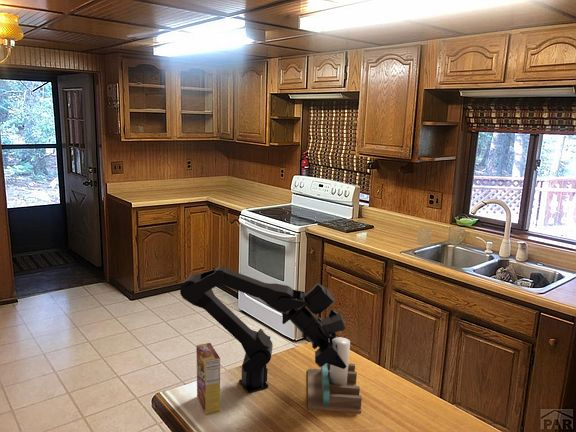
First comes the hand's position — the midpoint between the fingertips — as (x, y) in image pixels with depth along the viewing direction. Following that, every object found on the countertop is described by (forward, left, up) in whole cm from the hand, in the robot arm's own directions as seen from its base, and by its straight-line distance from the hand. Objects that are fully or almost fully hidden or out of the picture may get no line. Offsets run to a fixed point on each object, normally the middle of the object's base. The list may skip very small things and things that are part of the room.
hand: (344, 363), depth 131 cm
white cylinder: (-1, +1, -7) cm, 7 cm away
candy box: (-36, +11, -9) cm, 39 cm away
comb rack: (-2, +2, -8) cm, 9 cm away
